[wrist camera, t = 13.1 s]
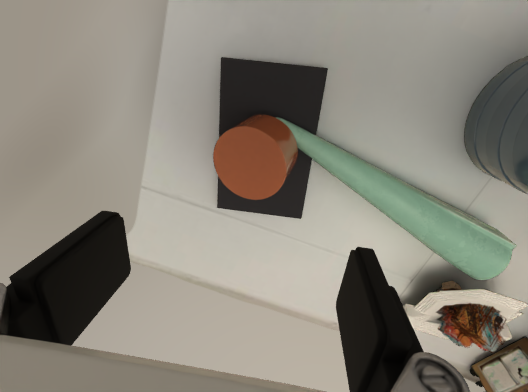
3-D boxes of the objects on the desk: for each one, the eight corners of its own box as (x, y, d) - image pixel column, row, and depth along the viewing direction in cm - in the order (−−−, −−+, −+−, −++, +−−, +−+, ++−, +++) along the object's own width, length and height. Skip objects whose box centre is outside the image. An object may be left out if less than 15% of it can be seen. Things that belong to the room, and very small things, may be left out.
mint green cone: (247, 170, 26) (480, 290, 28) (272, 118, 24) (526, 253, 25) (257, 155, 31) (454, 258, 32) (278, 110, 28) (491, 224, 30)
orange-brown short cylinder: (233, 109, 26) (212, 119, 23) (303, 121, 25) (291, 134, 21) (232, 172, 30) (213, 190, 27) (292, 186, 29) (281, 207, 25)
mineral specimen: (541, 277, 30) (583, 345, 25) (478, 320, 38) (500, 378, 33) (427, 255, 31) (444, 316, 26) (390, 301, 39) (397, 354, 34)
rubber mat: (222, 57, 26) (221, 57, 25) (327, 68, 25) (327, 68, 25) (218, 205, 32) (217, 208, 32) (301, 216, 32) (301, 218, 31)
